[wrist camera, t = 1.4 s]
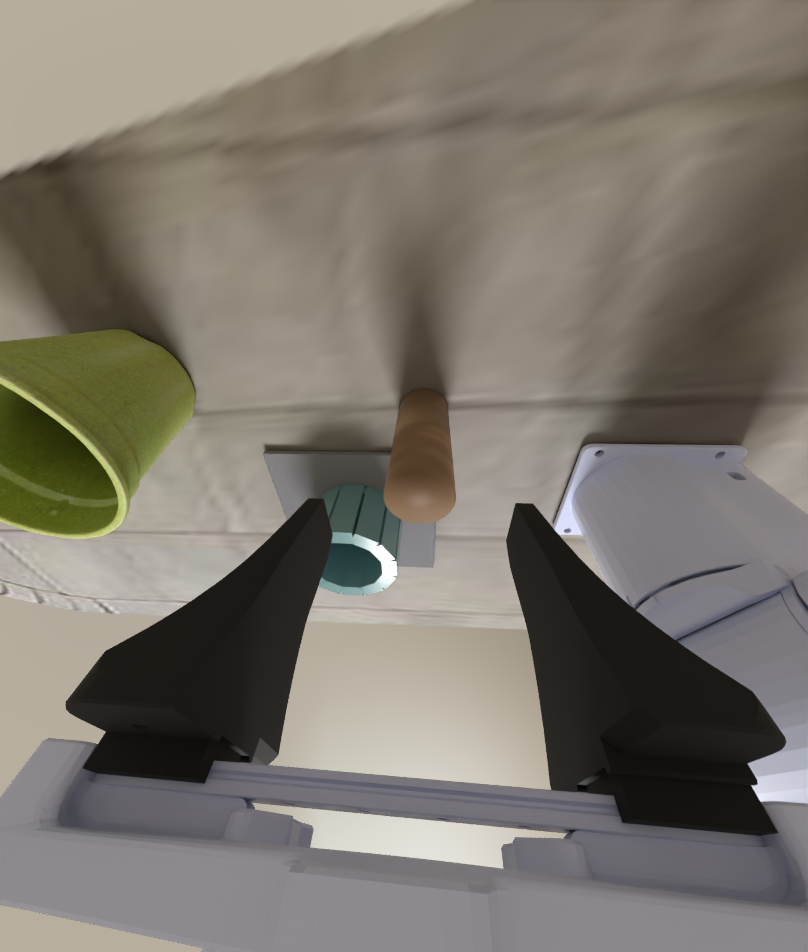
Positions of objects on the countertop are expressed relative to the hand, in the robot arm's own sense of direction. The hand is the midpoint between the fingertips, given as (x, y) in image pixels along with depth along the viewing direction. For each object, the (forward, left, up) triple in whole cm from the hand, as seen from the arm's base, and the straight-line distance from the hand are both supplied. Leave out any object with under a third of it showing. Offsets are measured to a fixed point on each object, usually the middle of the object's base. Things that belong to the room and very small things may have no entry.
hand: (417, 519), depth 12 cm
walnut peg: (0, 0, -9) cm, 9 cm away
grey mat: (+5, +9, -9) cm, 14 cm away
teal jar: (+5, +9, -9) cm, 14 cm away
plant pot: (+17, -2, -10) cm, 20 cm away
